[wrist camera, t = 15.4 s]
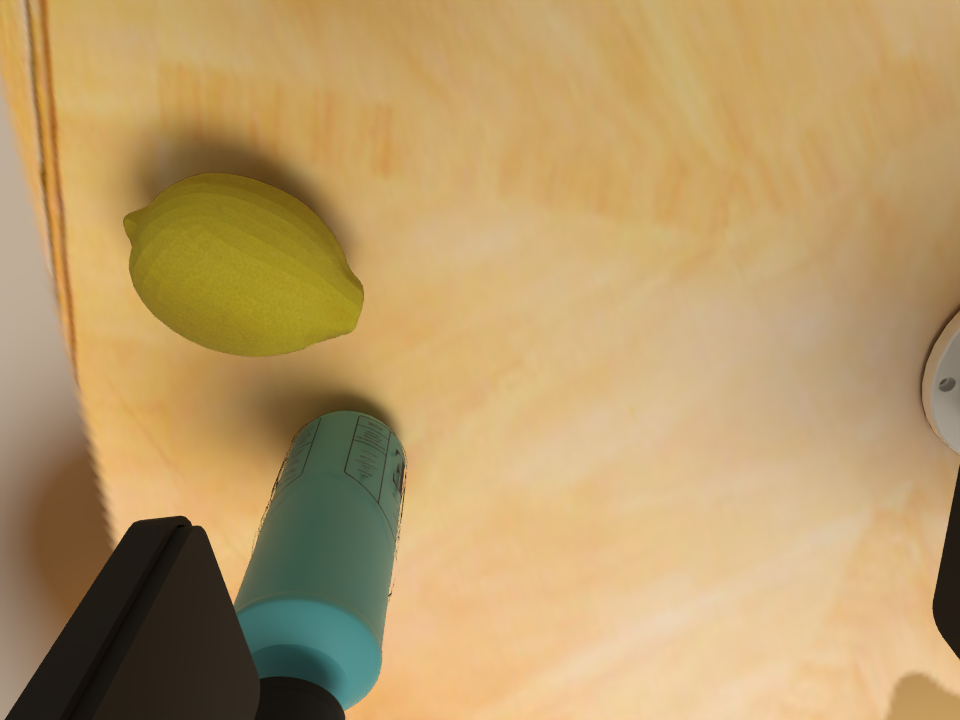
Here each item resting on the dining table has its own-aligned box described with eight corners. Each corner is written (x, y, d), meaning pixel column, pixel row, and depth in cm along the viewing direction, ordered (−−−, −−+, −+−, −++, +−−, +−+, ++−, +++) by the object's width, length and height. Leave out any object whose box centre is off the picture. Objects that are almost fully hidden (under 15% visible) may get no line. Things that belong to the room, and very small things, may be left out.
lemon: (134, 252, 37) (53, 313, 29) (196, 115, 34) (122, 145, 27) (327, 356, 39) (296, 435, 32) (400, 237, 36) (383, 294, 29)
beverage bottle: (276, 412, 41) (124, 736, 23) (386, 377, 40) (319, 683, 22) (325, 501, 43) (224, 853, 25) (429, 470, 43) (401, 812, 25)
